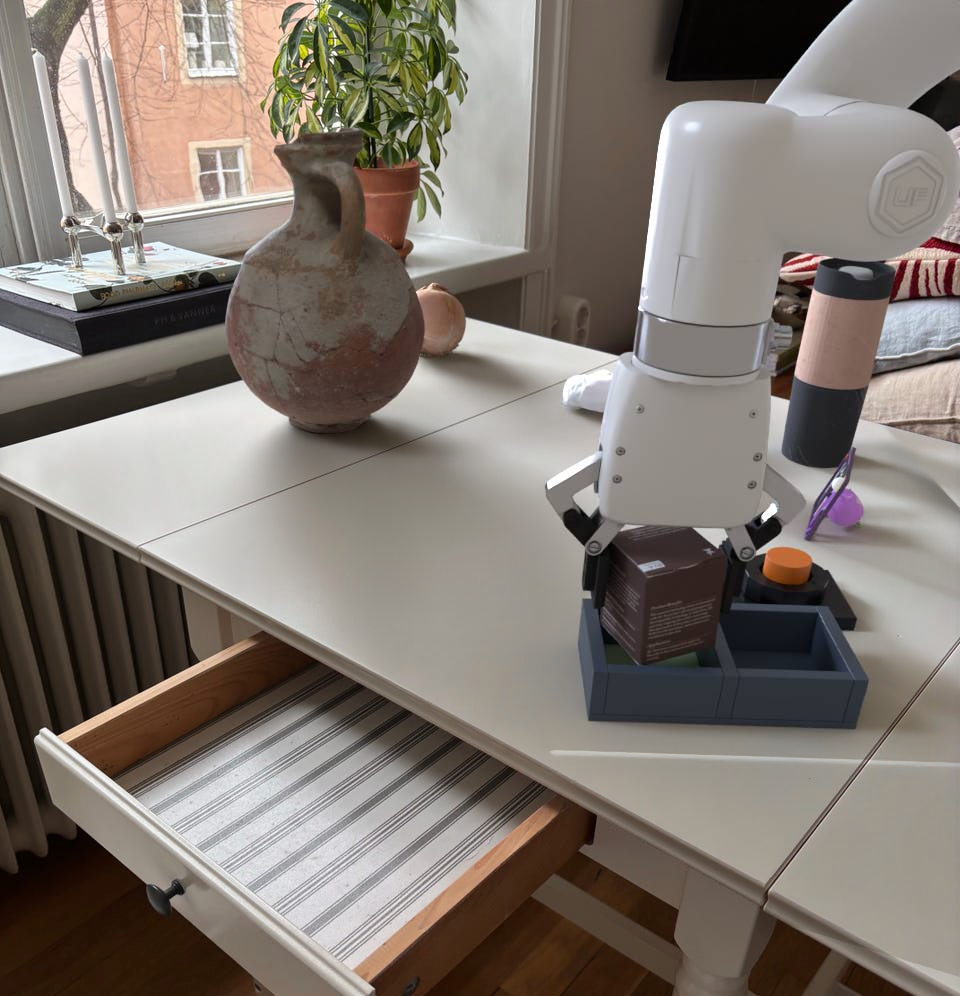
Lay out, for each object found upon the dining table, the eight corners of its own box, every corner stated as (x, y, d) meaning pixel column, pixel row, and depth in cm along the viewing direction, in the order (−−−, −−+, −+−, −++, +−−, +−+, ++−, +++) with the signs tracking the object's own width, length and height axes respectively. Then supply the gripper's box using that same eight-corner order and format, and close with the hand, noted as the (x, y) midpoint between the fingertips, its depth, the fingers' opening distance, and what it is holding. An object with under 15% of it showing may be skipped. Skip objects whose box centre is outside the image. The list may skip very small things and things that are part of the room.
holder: (816, 652, 75) (828, 605, 73) (855, 729, 67) (870, 680, 65) (577, 644, 75) (582, 597, 73) (588, 721, 67) (593, 671, 65)
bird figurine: (642, 423, 120) (573, 387, 122) (657, 375, 114) (584, 339, 117) (622, 442, 117) (552, 405, 120) (637, 394, 112) (563, 356, 114)
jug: (348, 377, 127) (337, 113, 110) (465, 423, 114) (471, 132, 98) (199, 415, 114) (161, 122, 97) (312, 472, 101) (291, 146, 85)
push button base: (825, 581, 85) (833, 550, 83) (854, 631, 78) (863, 598, 76) (709, 578, 85) (714, 546, 83) (727, 627, 78) (734, 594, 76)
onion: (433, 366, 141) (443, 294, 140) (474, 364, 134) (485, 289, 133) (378, 351, 135) (388, 276, 134) (418, 348, 128) (429, 269, 127)
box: (672, 606, 72) (682, 516, 68) (717, 649, 68) (730, 556, 63) (597, 623, 70) (603, 532, 66) (638, 670, 66) (647, 575, 62)
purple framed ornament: (845, 442, 94) (837, 476, 87) (895, 468, 94) (891, 504, 87) (807, 499, 98) (796, 536, 91) (854, 524, 98) (847, 563, 91)
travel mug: (805, 437, 114) (845, 254, 103) (863, 458, 109) (912, 268, 98) (764, 451, 110) (801, 262, 99) (823, 474, 105) (869, 278, 94)
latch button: (801, 566, 81) (805, 547, 81) (813, 587, 78) (818, 568, 77) (757, 564, 81) (761, 545, 80) (768, 586, 78) (772, 566, 77)
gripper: (828, 331, 61) (771, 579, 71) (547, 318, 61) (528, 570, 70) (867, 368, 55) (799, 635, 64) (554, 354, 55) (532, 625, 64)
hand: (658, 600), depth 67 cm, fingers closed on box, 7 cm apart
